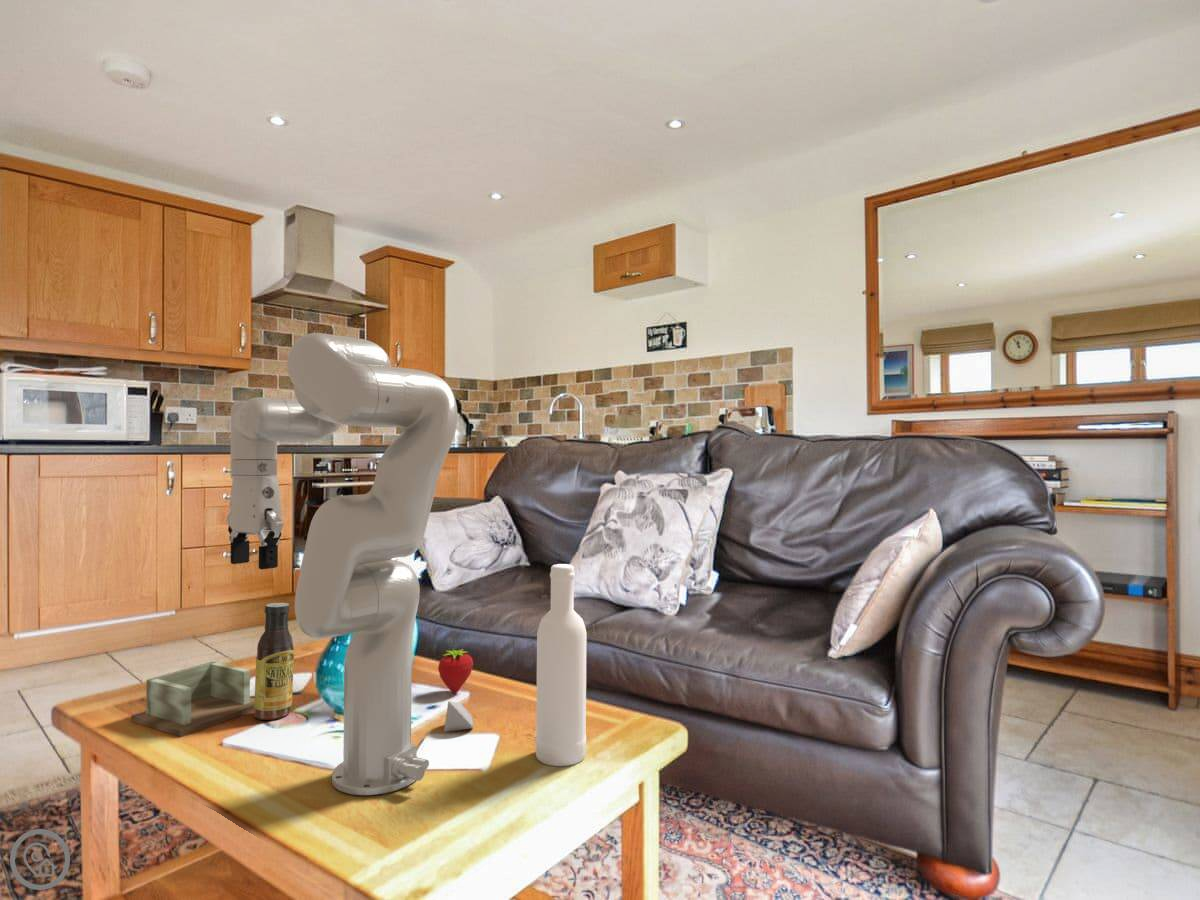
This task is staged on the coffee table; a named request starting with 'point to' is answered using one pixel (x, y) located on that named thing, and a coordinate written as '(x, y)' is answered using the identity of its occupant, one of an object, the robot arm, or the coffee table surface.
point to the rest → (196, 698)
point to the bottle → (561, 676)
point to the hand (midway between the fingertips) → (253, 565)
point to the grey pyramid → (457, 718)
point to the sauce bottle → (274, 665)
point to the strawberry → (455, 669)
